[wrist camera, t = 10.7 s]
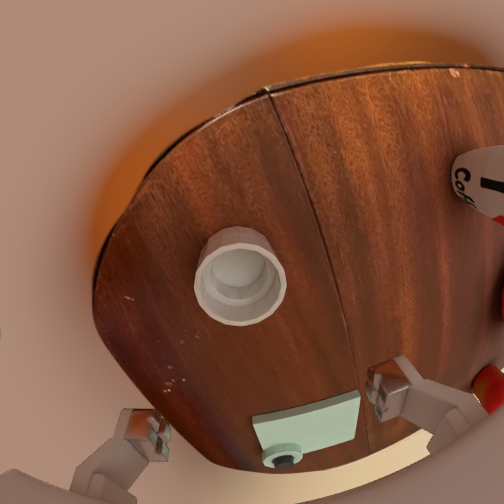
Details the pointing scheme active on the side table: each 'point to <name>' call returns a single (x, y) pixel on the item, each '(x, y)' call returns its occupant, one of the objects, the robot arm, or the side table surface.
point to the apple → (490, 388)
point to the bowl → (239, 277)
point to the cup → (481, 180)
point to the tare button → (283, 462)
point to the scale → (307, 427)
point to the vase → (503, 302)
